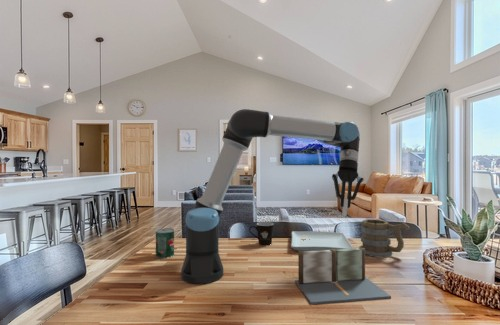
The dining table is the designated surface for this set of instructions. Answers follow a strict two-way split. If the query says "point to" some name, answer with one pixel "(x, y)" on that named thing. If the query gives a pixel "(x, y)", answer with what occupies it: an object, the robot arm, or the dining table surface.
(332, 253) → the panel
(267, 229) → the coffee mug
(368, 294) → the card
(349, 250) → the folding panel
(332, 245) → the square plate
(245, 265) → the dining table surface
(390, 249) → the tankard
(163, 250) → the canned tomato
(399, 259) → the dining table surface
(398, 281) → the dining table surface
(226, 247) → the dining table surface
